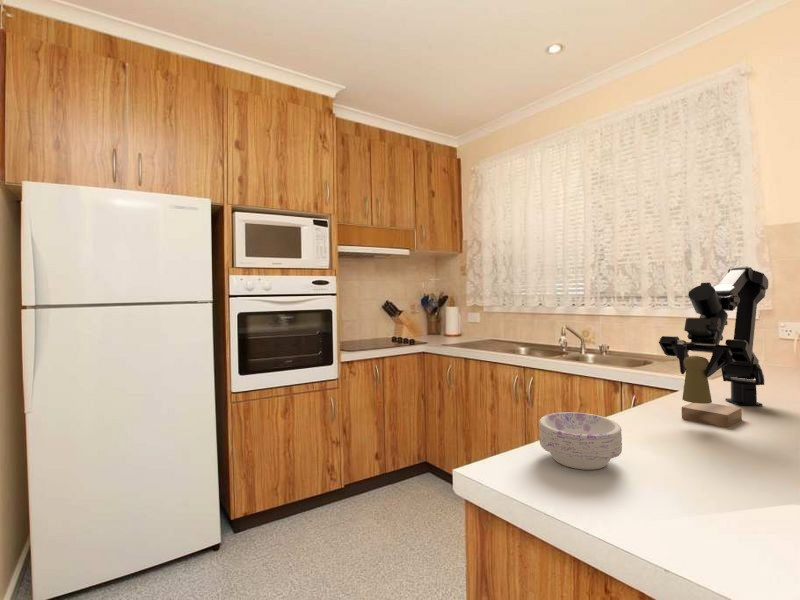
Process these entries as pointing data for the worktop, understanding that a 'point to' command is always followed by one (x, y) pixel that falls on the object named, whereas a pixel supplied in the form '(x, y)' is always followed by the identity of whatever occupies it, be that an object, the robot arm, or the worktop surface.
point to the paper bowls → (580, 439)
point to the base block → (712, 413)
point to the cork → (696, 380)
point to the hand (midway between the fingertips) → (694, 374)
